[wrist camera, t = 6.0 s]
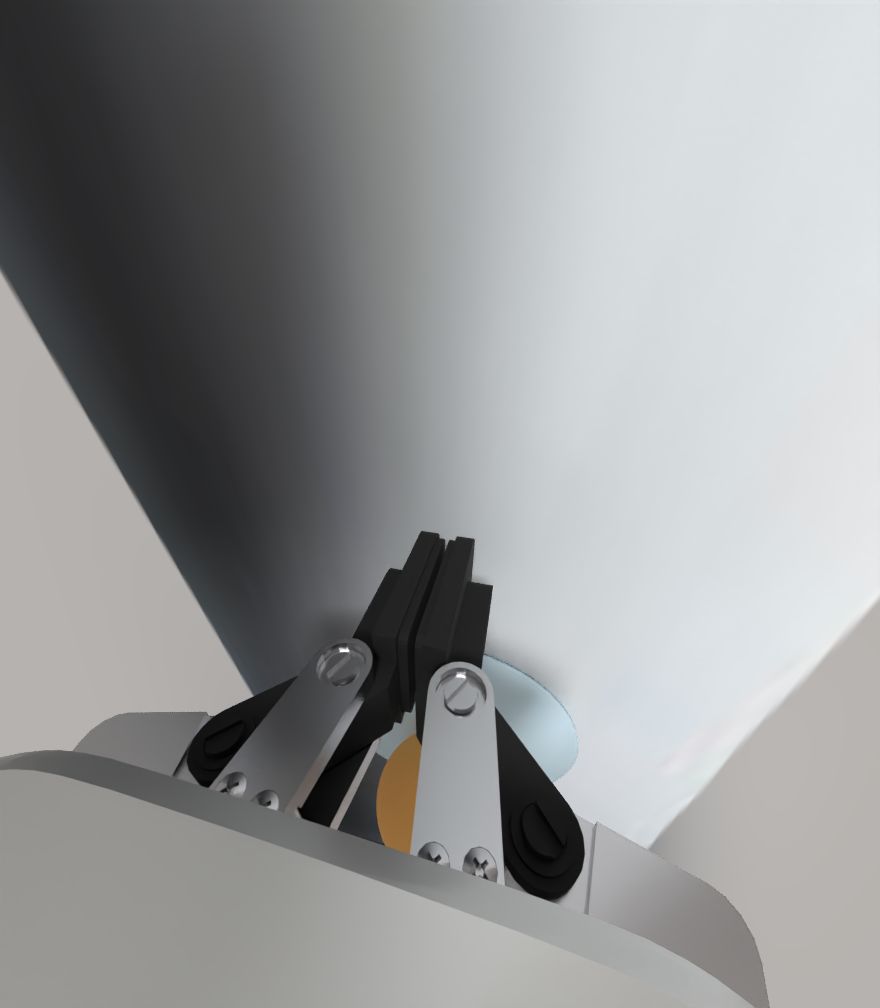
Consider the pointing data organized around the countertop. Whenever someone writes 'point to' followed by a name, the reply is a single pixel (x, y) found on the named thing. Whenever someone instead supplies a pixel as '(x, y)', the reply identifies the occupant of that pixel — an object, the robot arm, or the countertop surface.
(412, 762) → the ball
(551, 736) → the disc
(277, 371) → the countertop surface
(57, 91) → the countertop surface
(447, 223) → the countertop surface
